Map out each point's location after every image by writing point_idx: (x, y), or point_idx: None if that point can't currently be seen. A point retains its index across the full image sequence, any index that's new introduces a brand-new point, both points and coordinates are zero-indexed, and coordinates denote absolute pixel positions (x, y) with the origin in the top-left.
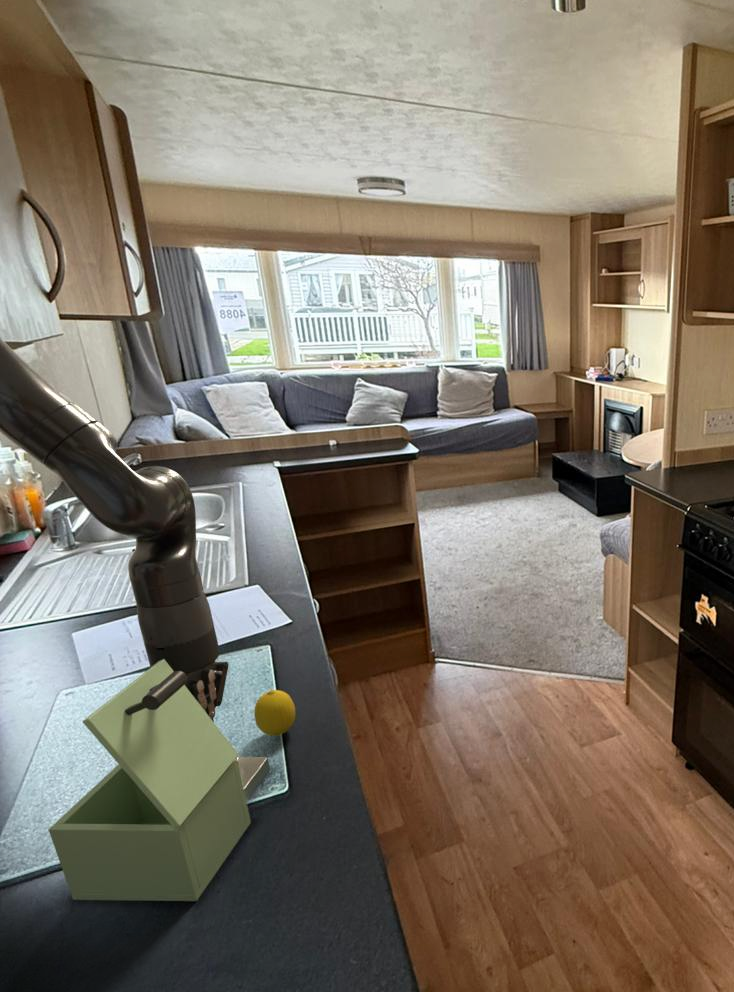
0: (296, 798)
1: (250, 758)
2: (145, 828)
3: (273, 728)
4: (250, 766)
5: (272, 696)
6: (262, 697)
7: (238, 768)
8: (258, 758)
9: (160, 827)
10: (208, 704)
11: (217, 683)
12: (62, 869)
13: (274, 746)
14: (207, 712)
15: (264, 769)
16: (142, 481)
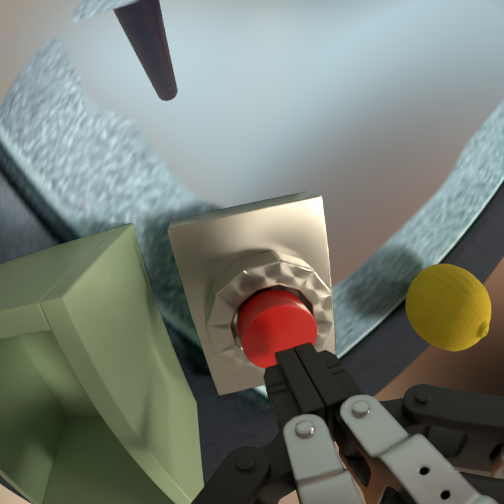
0: (263, 420)
1: (330, 337)
2: (8, 481)
3: (411, 323)
4: None
5: (472, 339)
6: (474, 318)
7: None
8: (331, 351)
9: (24, 495)
10: (363, 493)
11: (466, 464)
12: None
13: (386, 300)
14: (348, 465)
15: None
16: None
